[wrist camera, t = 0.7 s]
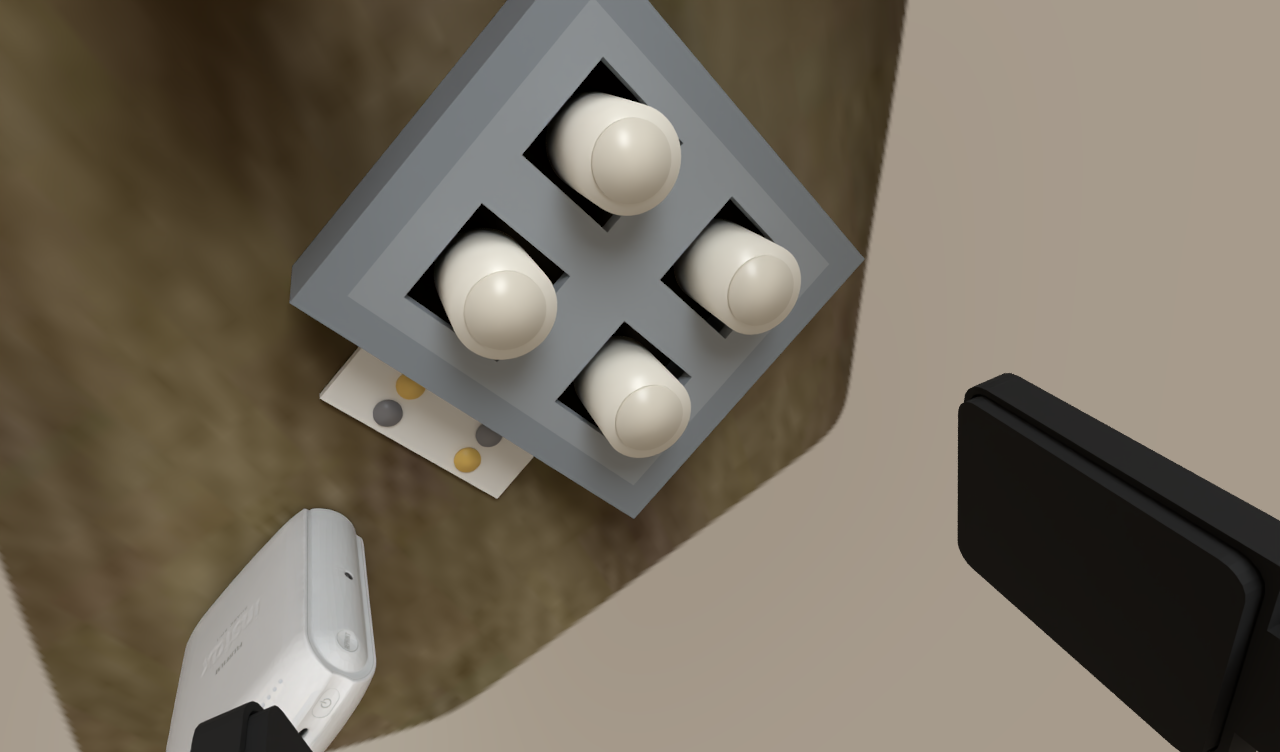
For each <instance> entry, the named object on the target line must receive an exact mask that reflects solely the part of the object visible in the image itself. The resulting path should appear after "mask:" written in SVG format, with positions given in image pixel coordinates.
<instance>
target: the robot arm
mask: <svg viewBox="0 0 1280 752" xmlns="http://www.w3.org/2000/svg"><path fill="white" fill-rule="evenodd" d="M958 546H959V549H960V552H961V554H962V556H963V558H964V559H965V560H966V562H967V563H968V564H969V565H970V566H971V567H972V568H973V569H974V570H975V571H976V572H977V573H978V574H979V575H981V576H982V577H983V578H984V579H985V580H986V581H987V582H989V583H990V584H991V585H992V586H993V587H994V588H995V589H996V590H997V591H999V592H1000V593H1001V594H1002V595H1003V596H1004V597H1005V598H1006V599H1008V600H1009V601H1010V602H1011V603H1012V604H1013V605H1015V607H1017V608H1018V609H1019V610H1020V611H1021V612H1022V613H1023V614H1025V615H1026V616H1027V617H1028V618H1029V619H1030V620H1032V621H1033V622H1034V623H1035V624H1036V625H1037V626H1038V627H1039V628H1040V629H1042V630H1043V631H1044V632H1045V633H1046V634H1047V635H1048V636H1050V637H1051V638H1052V639H1053V640H1054V641H1055V642H1056V643H1057V644H1058V645H1060V646H1061V647H1062V648H1063V649H1064V650H1065V651H1067V652H1068V654H1070V655H1071V656H1072V657H1073V658H1074V659H1075V660H1077V661H1078V662H1079V663H1080V664H1081V665H1082V666H1083V667H1084V668H1085V669H1087V670H1088V671H1089V672H1090V673H1091V674H1092V675H1094V677H1096V678H1097V679H1098V680H1099V681H1100V682H1101V683H1102V684H1103V685H1105V686H1106V687H1107V688H1108V689H1109V690H1110V691H1111V692H1112V693H1114V694H1115V695H1116V696H1117V697H1118V698H1119V699H1120V700H1121V701H1123V702H1124V703H1125V704H1126V705H1127V706H1128V707H1129V708H1131V709H1132V710H1133V711H1134V712H1135V713H1136V714H1137V715H1138V716H1140V717H1141V718H1142V719H1143V720H1144V721H1145V722H1146V723H1147V724H1149V725H1150V726H1151V727H1152V728H1153V729H1154V730H1155V731H1156V732H1158V733H1159V734H1160V735H1161V736H1162V737H1163V738H1165V740H1167V741H1168V742H1169V743H1170V744H1171V745H1172V746H1174V747H1175V748H1176V749H1178V750H1179V751H1180V752H1256V751H1258V752H1280V521H1279V520H1277V519H1276V518H1274V517H1272V516H1270V515H1268V514H1267V513H1265V512H1263V511H1261V510H1259V509H1258V508H1256V507H1254V506H1252V505H1250V504H1249V503H1247V502H1245V501H1243V500H1241V499H1239V498H1238V497H1236V496H1234V495H1232V494H1230V493H1229V492H1227V491H1225V490H1223V489H1221V488H1220V487H1218V486H1216V485H1214V484H1212V483H1210V482H1209V481H1207V480H1205V479H1203V478H1201V477H1199V476H1198V475H1196V474H1194V473H1193V472H1191V471H1189V470H1187V469H1185V468H1183V467H1182V466H1180V465H1178V464H1176V463H1174V462H1173V461H1171V460H1169V459H1167V458H1165V457H1163V456H1162V455H1160V454H1158V453H1156V452H1155V451H1153V450H1151V449H1149V448H1147V447H1146V446H1144V445H1142V444H1140V443H1138V442H1136V441H1134V440H1133V439H1131V438H1129V437H1127V436H1126V435H1124V434H1122V433H1120V432H1118V431H1117V430H1115V429H1113V428H1111V427H1109V426H1108V425H1106V424H1104V423H1102V422H1100V421H1098V420H1097V419H1095V418H1093V417H1091V416H1090V415H1088V414H1086V413H1084V412H1082V411H1080V410H1079V409H1077V408H1075V407H1073V406H1071V405H1069V404H1068V403H1066V402H1064V401H1062V400H1060V399H1059V398H1057V397H1055V396H1053V395H1052V394H1050V393H1048V392H1046V391H1044V390H1042V389H1041V388H1039V387H1037V386H1035V385H1033V384H1032V383H1030V382H1028V381H1026V380H1024V379H1023V378H1021V377H1019V376H1017V375H1014V374H1011V373H1004V374H1002V375H999V376H997V377H995V378H993V379H990V380H988V381H986V382H983V383H981V384H979V385H976V386H974V387H972V388H970V389H968V391H967V392H966V394H965V398H964V403H962V404H961V405H960V407H959V411H958ZM190 752H313V751H312V750H311V749H310V747H309V746H308V745H307V743H306V742H305V741H304V739H303V738H302V737H301V735H300V734H299V733H298V731H297V730H296V729H295V727H294V726H293V724H292V723H291V722H290V720H289V719H288V718H287V716H286V715H285V714H284V712H283V711H282V710H281V709H280V708H279V707H278V706H276V705H274V706H271V707H269V708H266V709H263V708H262V707H261V706H260V705H259V704H258V703H257V702H254V701H251V702H248V703H245V704H243V705H241V706H239V707H236V708H234V709H232V710H229V711H227V712H225V713H222V714H220V715H218V716H216V717H213V718H211V719H209V720H206V721H204V722H202V723H200V724H199V725H198V726H197V727H196V729H195V731H194V735H193V738H192V744H191V750H190Z"/></svg>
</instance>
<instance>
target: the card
mask: <svg viewBox="0 0 1280 752" xmlns="http://www.w3.org/2000/svg"><path fill="white" fill-rule="evenodd" d="M320 399H322V400H323V401H325V402H327V403H329V404H330V405H332V406H334V407H336V408H338V409H339V410H341V411H343V412H345V413H346V414H348V415H350V416H352V417H353V418H355V419H357V420H359V421H361V422H362V423H364V424H366V425H368V426H369V427H371V428H373V429H375V430H376V431H378V432H380V433H382V434H383V435H385V436H387V437H389V438H391V439H392V440H394V441H396V442H398V443H399V444H401V445H403V446H405V447H406V448H408V449H410V450H412V451H413V452H415V453H417V454H419V455H421V456H422V457H424V458H426V459H428V460H429V461H431V462H433V463H435V464H436V465H438V466H440V467H442V468H444V469H445V470H447V471H449V472H451V473H452V474H454V475H456V476H458V477H459V478H461V479H463V480H465V481H466V482H468V483H470V484H472V485H474V486H475V487H477V488H479V489H481V490H482V491H484V492H486V493H488V494H489V495H491V496H493V497H495V498H496V499H498V497H499V496H500V495H501V494H502V493H503V492H504V490H505V489H506V488H507V487H508V486H509V485H510V484H511V482H512V481H513V480H514V479H515V478H516V477H517V475H518V474H519V473H520V472H521V471H522V470H523V469H524V467H525V466H526V465H527V464H528V463H529V462H530V460H531V459H532V458H533V457H534V456H533V455H531V454H530V453H528V452H526V451H525V450H523V449H522V448H520V447H518V446H517V445H515V444H514V443H512V442H510V441H509V440H507V439H506V438H504V437H502V436H501V435H499V434H498V433H496V432H494V431H493V430H491V429H490V428H488V427H486V426H485V425H483V424H482V423H480V422H478V421H477V420H475V419H474V418H472V417H470V416H469V415H467V414H466V413H464V412H463V411H461V410H459V409H458V408H456V407H455V406H453V405H451V404H450V403H448V402H447V401H445V400H443V399H442V398H440V397H439V396H437V395H435V394H434V393H432V392H431V391H429V390H427V389H426V388H424V387H423V386H421V385H419V384H418V383H416V382H415V381H413V380H411V379H410V378H408V377H407V376H405V375H404V374H402V373H400V372H399V371H397V370H396V369H394V368H392V367H391V366H389V365H388V364H386V363H384V362H383V361H381V360H380V359H378V358H376V357H375V356H373V355H372V354H370V353H368V352H367V351H365V350H364V349H362V348H360V347H358V348H357V350H356V351H355V352H354V353H353V354H352V356H351V357H350V358H349V359H348V360H347V362H346V363H345V364H344V365H343V366H342V368H341V369H340V370H339V371H338V372H337V374H336V375H335V376H334V377H333V379H332V380H331V381H330V382H329V383H328V385H327V386H326V387H325V388H324V389H323V391H322V392H321V393H320Z"/></svg>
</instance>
